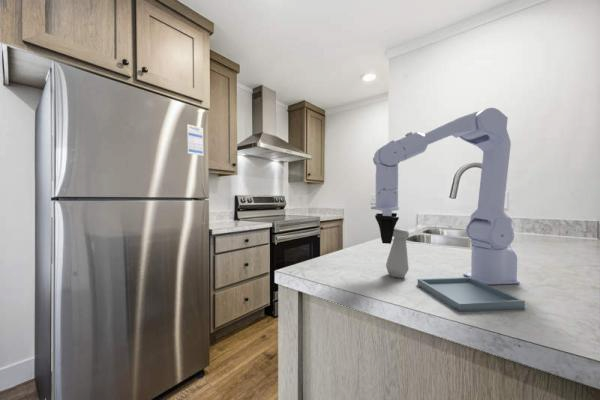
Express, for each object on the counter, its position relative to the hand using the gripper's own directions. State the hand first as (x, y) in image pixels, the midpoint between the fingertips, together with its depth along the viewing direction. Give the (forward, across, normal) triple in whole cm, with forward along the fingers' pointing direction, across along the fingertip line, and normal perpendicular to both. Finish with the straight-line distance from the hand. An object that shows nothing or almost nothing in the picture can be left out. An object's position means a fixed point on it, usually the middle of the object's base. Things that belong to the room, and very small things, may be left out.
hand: (386, 240), depth 66 cm
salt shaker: (+10, -2, +3) cm, 11 cm away
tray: (+10, +7, +17) cm, 21 cm away
